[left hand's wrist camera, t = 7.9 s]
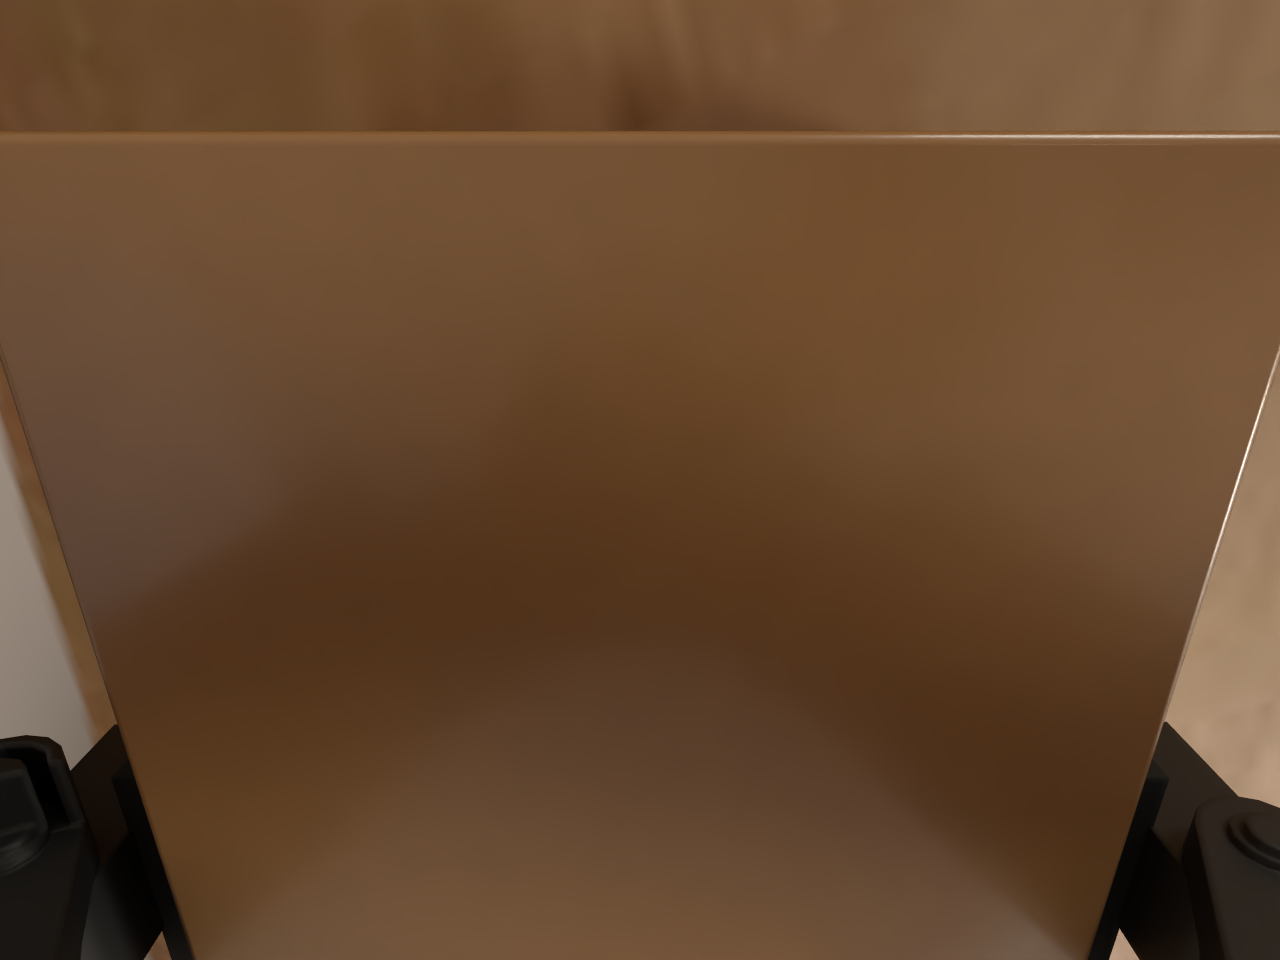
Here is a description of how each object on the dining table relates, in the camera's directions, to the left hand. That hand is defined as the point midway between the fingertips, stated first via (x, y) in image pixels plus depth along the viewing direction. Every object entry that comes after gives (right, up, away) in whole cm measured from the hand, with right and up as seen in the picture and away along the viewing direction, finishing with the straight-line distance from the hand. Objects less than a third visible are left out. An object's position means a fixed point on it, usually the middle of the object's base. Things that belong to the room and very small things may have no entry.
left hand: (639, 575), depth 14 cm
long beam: (0, -23, +10) cm, 25 cm away
